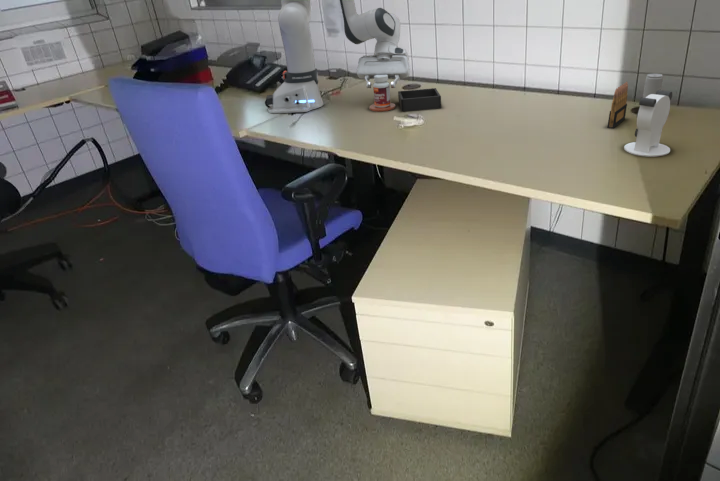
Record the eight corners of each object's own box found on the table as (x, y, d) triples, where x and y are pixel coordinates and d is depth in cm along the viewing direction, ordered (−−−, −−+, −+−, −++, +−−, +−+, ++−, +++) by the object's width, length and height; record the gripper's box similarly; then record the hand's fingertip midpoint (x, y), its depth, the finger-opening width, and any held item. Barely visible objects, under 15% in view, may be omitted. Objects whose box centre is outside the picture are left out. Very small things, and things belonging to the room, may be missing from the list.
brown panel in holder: (618, 118, 176) (624, 80, 170) (624, 119, 175) (630, 81, 169) (607, 127, 169) (612, 88, 163) (613, 128, 168) (619, 89, 162)
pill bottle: (372, 107, 208) (370, 77, 202) (377, 103, 213) (375, 73, 207) (387, 108, 205) (386, 77, 200) (392, 103, 210) (391, 73, 205)
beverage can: (641, 114, 177) (648, 77, 172) (638, 110, 181) (645, 73, 176) (658, 114, 176) (665, 76, 170) (654, 110, 180) (661, 73, 175)
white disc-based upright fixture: (636, 139, 158) (645, 87, 151) (678, 147, 150) (689, 92, 143) (616, 150, 152) (624, 96, 144) (658, 159, 144) (669, 102, 137)
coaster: (370, 112, 205) (369, 110, 205) (368, 105, 214) (368, 103, 213) (396, 110, 205) (396, 108, 204) (394, 103, 214) (394, 101, 213)
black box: (401, 111, 203) (401, 99, 201) (398, 102, 214) (398, 91, 212) (441, 108, 203) (440, 96, 200) (435, 99, 214) (435, 88, 212)
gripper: (357, 50, 209) (352, 83, 205) (410, 49, 203) (405, 82, 199) (361, 60, 214) (356, 92, 211) (412, 59, 209) (408, 91, 205)
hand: (380, 87), depth 205 cm, fingers open, 8 cm apart
